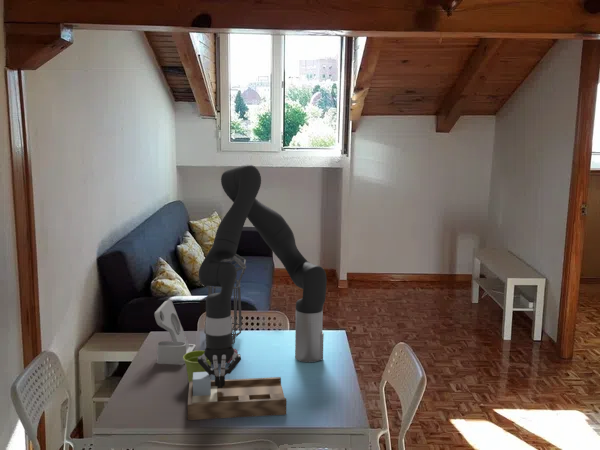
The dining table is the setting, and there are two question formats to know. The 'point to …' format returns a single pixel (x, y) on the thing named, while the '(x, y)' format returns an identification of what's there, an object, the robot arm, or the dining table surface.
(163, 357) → the phone holder
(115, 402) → the dining table surface
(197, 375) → the block
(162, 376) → the dining table surface
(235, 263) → the geometric lantern
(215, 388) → the box
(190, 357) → the plant pot
